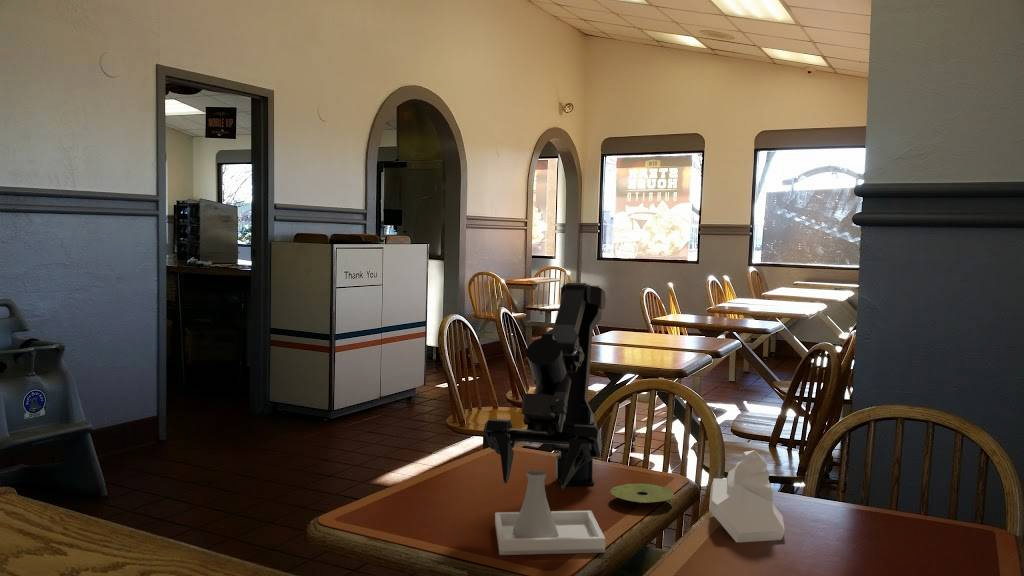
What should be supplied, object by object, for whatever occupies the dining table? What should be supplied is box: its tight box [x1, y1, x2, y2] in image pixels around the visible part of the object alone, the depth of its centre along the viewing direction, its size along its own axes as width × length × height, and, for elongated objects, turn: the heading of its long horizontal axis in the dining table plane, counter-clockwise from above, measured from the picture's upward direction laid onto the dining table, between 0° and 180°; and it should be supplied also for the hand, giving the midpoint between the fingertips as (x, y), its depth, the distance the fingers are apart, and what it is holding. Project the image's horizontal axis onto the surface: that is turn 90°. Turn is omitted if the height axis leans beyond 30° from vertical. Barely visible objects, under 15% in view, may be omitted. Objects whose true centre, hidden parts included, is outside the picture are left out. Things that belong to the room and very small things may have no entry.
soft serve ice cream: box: [708, 449, 785, 543], centre depth 136 cm, size 12×15×14 cm
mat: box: [610, 483, 675, 505], centre depth 150 cm, size 11×11×2 cm
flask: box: [513, 469, 559, 538], centre depth 131 cm, size 7×7×10 cm
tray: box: [494, 510, 606, 556], centre depth 132 cm, size 16×13×2 cm
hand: (533, 484), depth 130 cm, fingers open, 9 cm apart
